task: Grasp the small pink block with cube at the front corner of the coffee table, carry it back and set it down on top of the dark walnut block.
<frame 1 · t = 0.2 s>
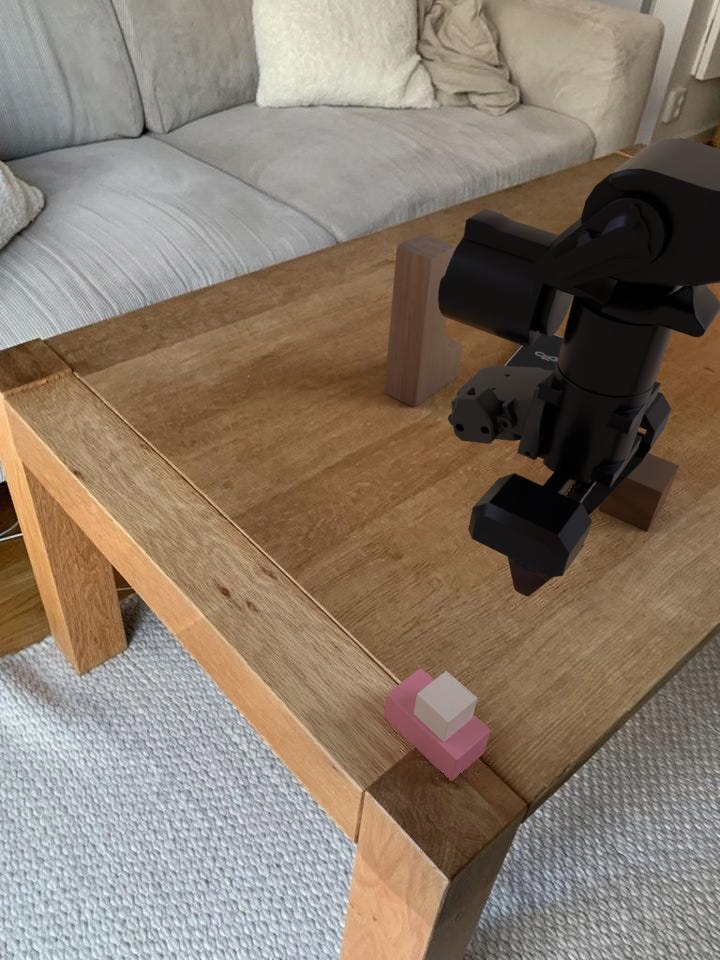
hand: (550, 553, 58), 12 cm above the table, tool pointing down, fingers open, 9 cm apart
external hard drive: (543, 372, 99), on the table
walnut block: (631, 506, 81), on the table
wooden block: (421, 386, 95), on the table
pink block with cube: (433, 734, 60), on the table
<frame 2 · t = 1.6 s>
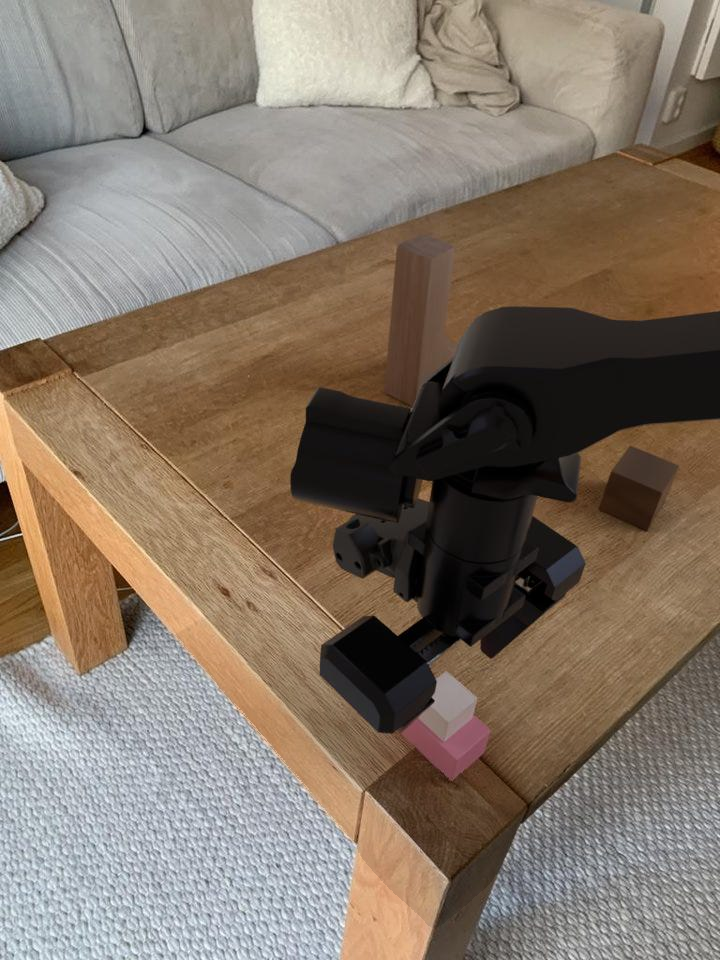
hand: (443, 688, 57), 6 cm above the table, tool pointing down, fingers open, 9 cm apart
nothing on the table moved.
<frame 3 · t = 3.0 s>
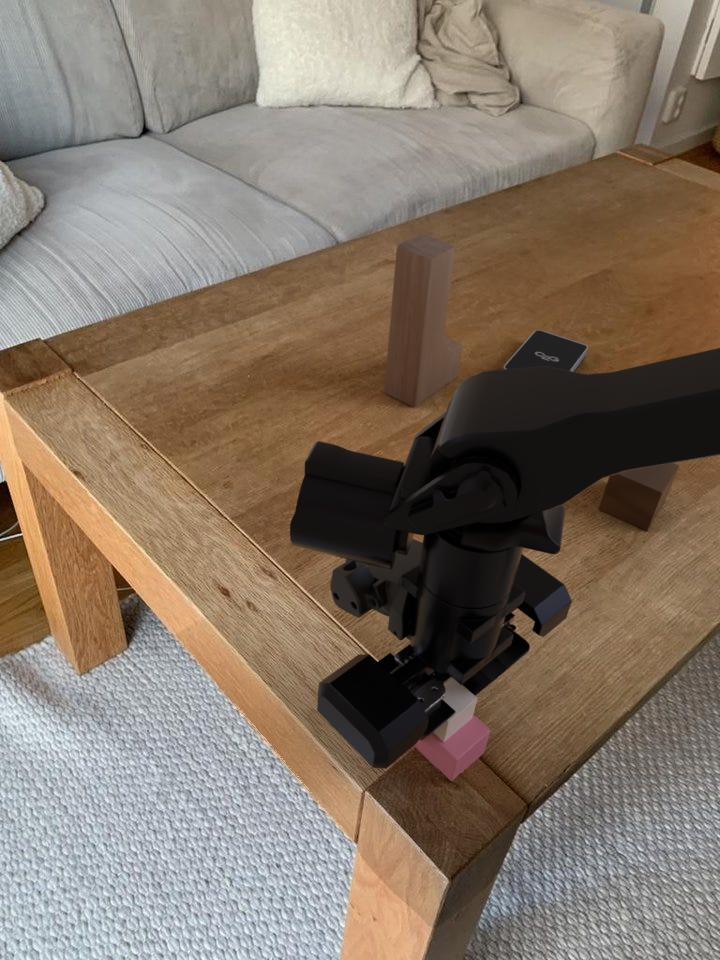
hand: (436, 719, 59), 2 cm above the table, tool pointing down, fingers closed on pink block with cube, 3 cm apart
pink block with cube: (433, 734, 60), on the table, touching gripper
everything else where it was.
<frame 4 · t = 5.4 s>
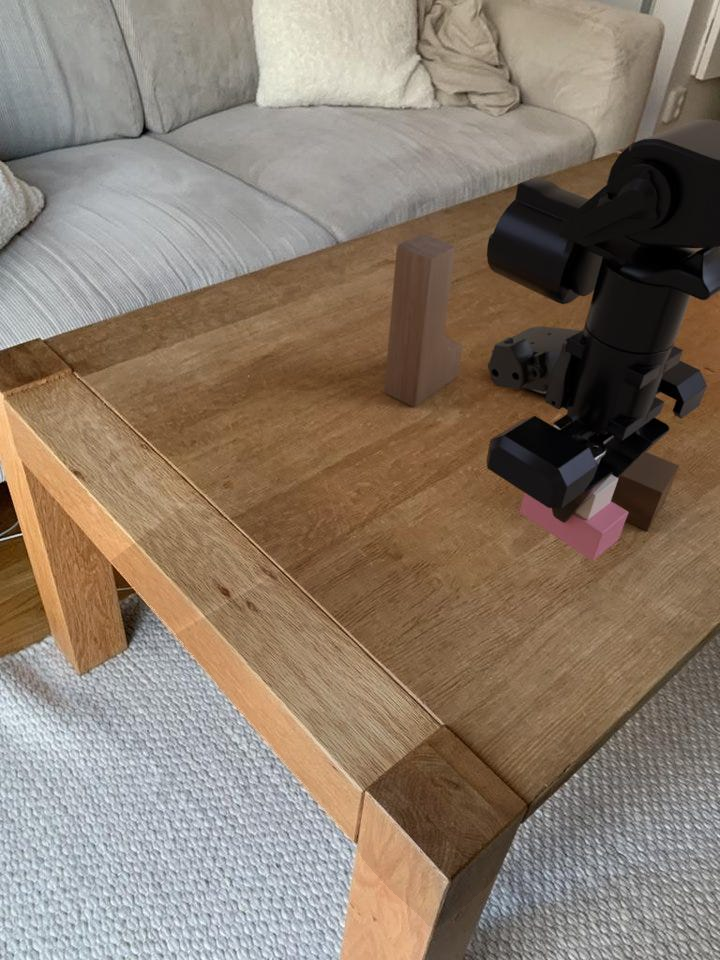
hand: (575, 507, 63), 12 cm above the table, tool pointing down, fingers closed on pink block with cube, 3 cm apart
pink block with cube: (568, 526, 64), point 10 cm above the table, touching gripper
everything else where it was.
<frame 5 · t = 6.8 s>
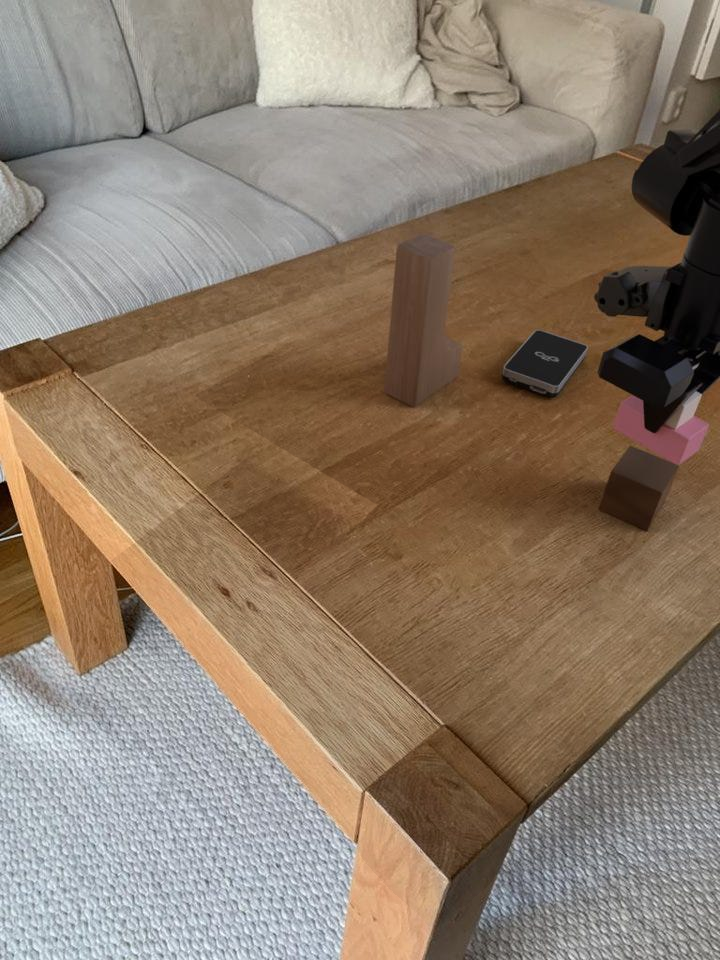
hand: (662, 422, 74), 11 cm above the table, tool pointing down, fingers closed on pink block with cube, 3 cm apart
pink block with cube: (654, 439, 75), point 9 cm above the table, touching gripper
everything else where it was.
when the fingers open (7 cm above the table, at t = 8.0 s): pink block with cube stays where it is, resting on walnut block.
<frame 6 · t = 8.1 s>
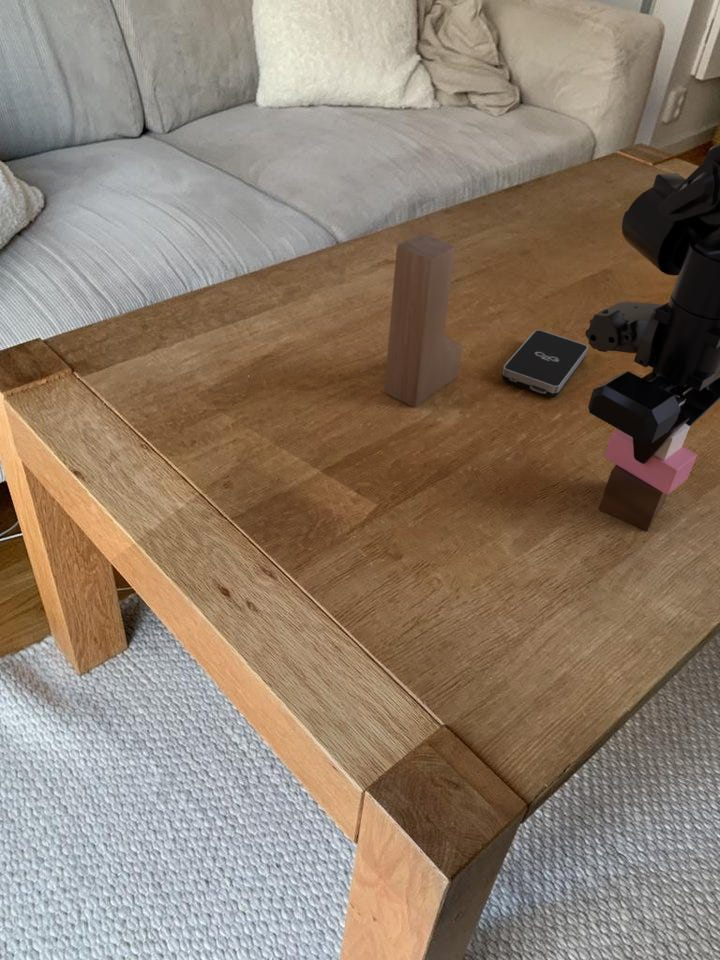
hand: (651, 452, 76), 7 cm above the table, tool pointing down, fingers open, 4 cm apart
walnut block: (631, 506, 81), on the table, touching pink block with cube
pink block with cube: (644, 468, 78), point 5 cm above the table, touching walnut block
everything else where it was.
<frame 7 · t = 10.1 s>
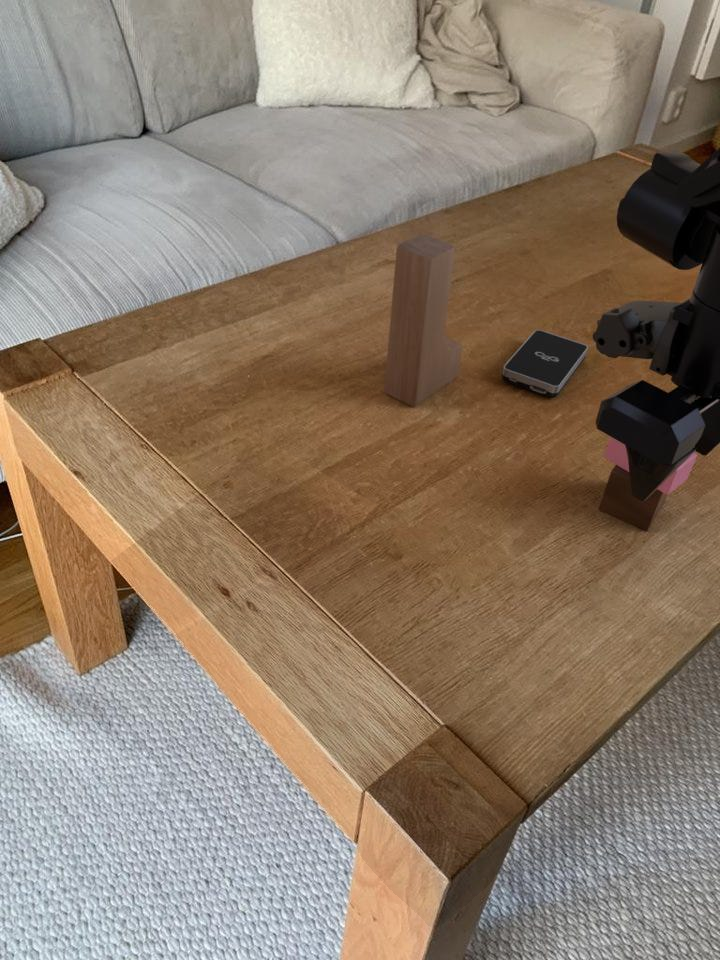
hand: (670, 474, 66), 12 cm above the table, tool pointing down, fingers open, 9 cm apart
nothing on the table moved.
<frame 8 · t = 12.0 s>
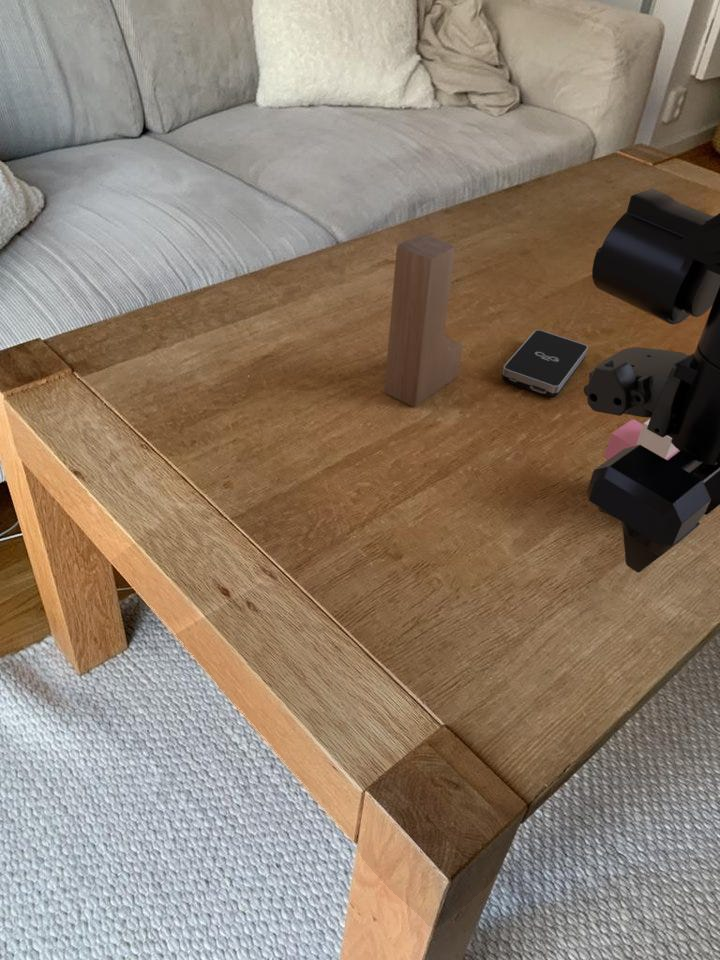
hand: (668, 538, 60), 13 cm above the table, tool pointing down, fingers open, 9 cm apart
nothing on the table moved.
at the end: pink block with cube 0.1 cm off-centre on the walnut block, point 5.0 cm above the walnut block's base; pink block with cube tilted 0° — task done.
